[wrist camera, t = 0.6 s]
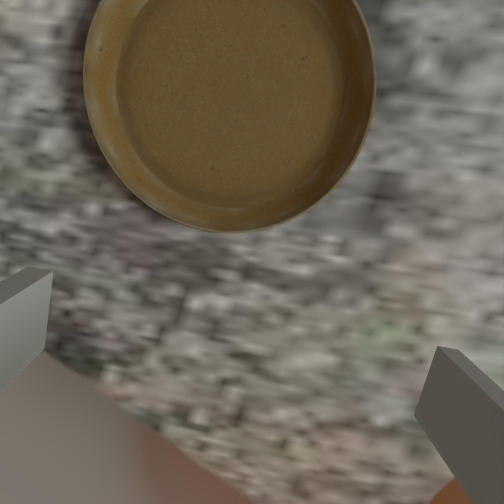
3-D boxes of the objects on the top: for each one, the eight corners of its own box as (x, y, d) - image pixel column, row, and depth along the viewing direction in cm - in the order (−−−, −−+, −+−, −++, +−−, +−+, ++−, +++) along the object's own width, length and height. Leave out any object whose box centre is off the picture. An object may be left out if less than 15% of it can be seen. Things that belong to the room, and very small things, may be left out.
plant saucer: (415, 29, 37) (432, 17, 34) (290, 268, 41) (294, 278, 38) (162, -116, 34) (154, -145, 31) (55, 157, 38) (39, 157, 35)
